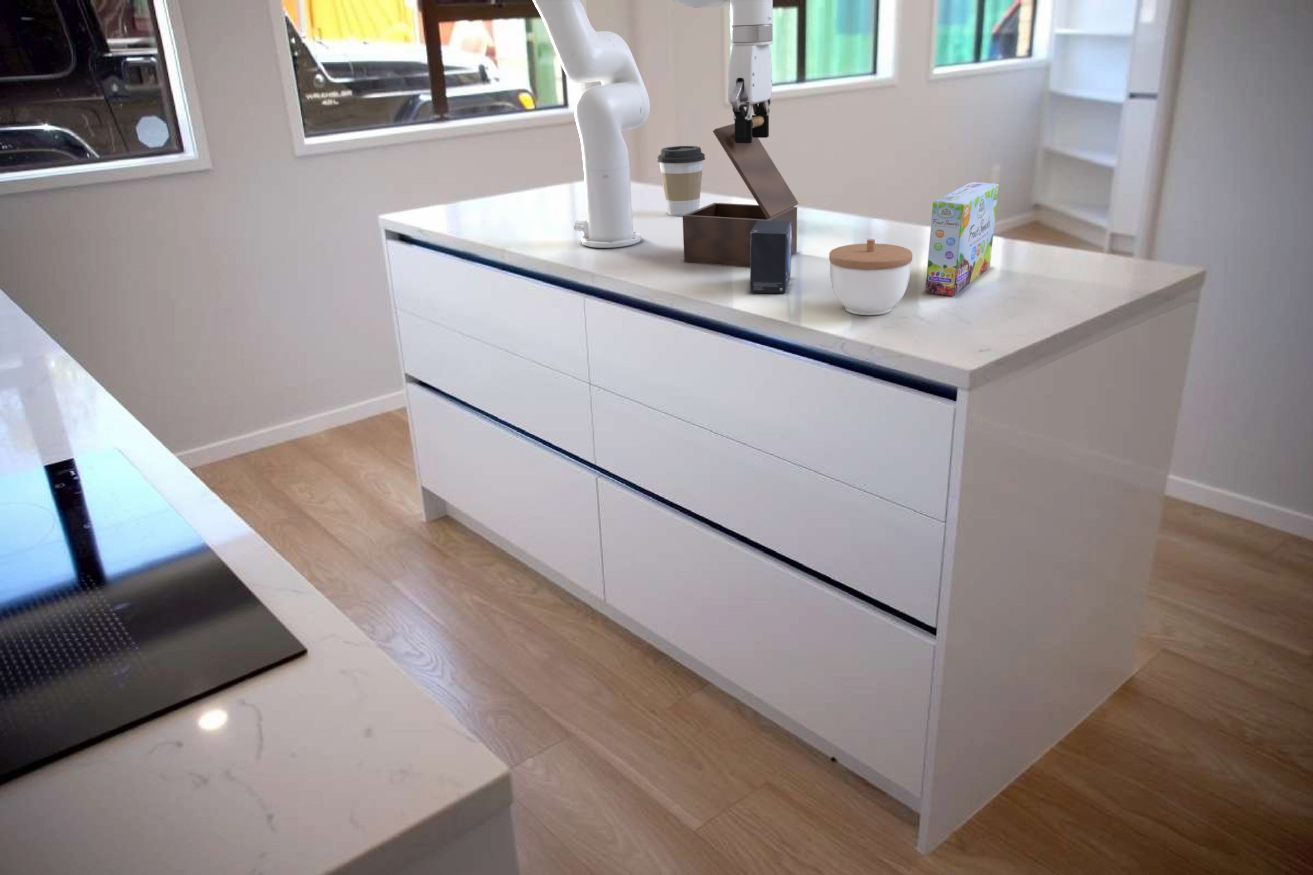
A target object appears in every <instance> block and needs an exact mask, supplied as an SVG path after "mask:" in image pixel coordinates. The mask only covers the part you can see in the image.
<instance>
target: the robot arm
mask: <svg viewBox="0 0 1313 875" xmlns="http://www.w3.org/2000/svg"><path fill="white" fill-rule="evenodd" d="M672 1H673V2H675V3H678V4H679V5H682V6H684V7H687V8H691V9H692V8H693V9H702V8H703V9H704V8H723V7H724V8H725V7H729V40H730V41H729V42H730V43H729V44H730V51H729V59H728V72H727V74H728V77H727V101H728V103H729V104H730V105H731V108H732V112H733V120H734V124H735V142H736V143H751V142H752V137H753V138H758V139H762V138H763V139H767V138H769V136H770V113H771V112H770V105H771V99H772V94H773V66H772V65H773V64H772V52H771V45H774V44H773V38H774V37H773V35H774V33H773V32H774V31H773V30H774V29H773V28H774V26H773V19H774V18H773V17H774V16H773V15H774V14H773V10H774V8H773V5H774V2H773V1H774V0H672ZM532 2H533V4H534V6H535V8H536V9H537V11H538V13H539V15H540V17H541V19H542V22H543V23H544V26H545V29H546V31H547V33H548V37H549V38H550V41H551V44H552V46H553V48H554V51H555V53H556V55H557V58H558V60H559V63H560V65H561V68H562V69H563V71H564V74H565V75H566V77H567V78H568V80H570V81H572V82H574V83H576V84H587V83H596V82H600V83H601V84H598V85H597V84H596V85H593V86H590V87H588V88H586V89H584V90H583V91H582V92H581V93H580V94H579V95H578V96H577V99H576V101H575V103H574V120H575V124H576V128H577V132H578V134H579V140H580V145H581V154H582V155H581V156H582V165H583V167H582V168H583V176H584V178H583V179H584V189H585V205H586V217H587V218H586V220H576V221H575V223H574V226H573V230H574V231H575V232H583V236H582V237H581V244H582V245H583V246H585V247H588V248H596V249H610V248H612V249H613V248H623V247H628V246H632V245H636V244H639V243H640V241H642V235H641V233H639V232H636V231H634V224H633V223H634V221H633V202H632V186H631V184H632V183H631V169H630V168H631V167H630V166H631V165H630V155H629V149H628V146H627V144H626V142H625V139H624V137H623V134H622V132H625V131H630V130H634V129H638V128H639V127H641V126H643V125H644V124H645V123H646V122H647V120H648V119H649V116H650V112H651V103H650V97H649V94H648V91H647V88H646V85H645V83H644V80H643V77H642V75H641V72H640V71H639V67H638V65H637V63H636V61H635V58H634V55H633V54H632V50H631V49H630V47H629V45H628V44H627V42H626V41H625V40H624V38H622V37H621V36H620V35H619V34H617V33H616V32H613V31H609V30H599V31H596V30H595V29H594V27H593V26H592V24H591V22H590V19H589V18H588V15H587V12H586V9H585V7H584V6H583V4H582V2H581V1H580V0H532ZM752 111H753V114H752ZM756 116H762V117H763V119H764V123H763V125H761V126H758V127H755V128H753V129H752V120H750V118H753V117H756Z"/></svg>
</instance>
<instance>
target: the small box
mask: <svg viewBox="0 0 1313 875" xmlns="http://www.w3.org/2000/svg"><path fill="white" fill-rule="evenodd" d="M791 238H792V235H791V221H766V220H758V221H757V222H756V224H755V225H754V227H753V229H752V231H751V232H750V267H749V293H750V294H751V293H754V294H755V293H756V294H757V293H758V294H759V293H760V294H785V293H786V291H787V289H788V286H789V284H790V280H791V273H792V256H791Z"/></svg>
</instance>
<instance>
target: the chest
mask: <svg viewBox="0 0 1313 875" xmlns="http://www.w3.org/2000/svg"><path fill="white" fill-rule="evenodd" d="M758 220H766V221H791V235H792V238H791V257H792V256H793V255H795V254H796V253H798V252H797V251H798V206H794V207H792V208H790V209H788V210H786V211H784V212H782V213H779V214H777V215H775V216H773V217H771V218H769V219H767V218H766V216H765V214H764V213H763V211H762V210H761V208H760V206H759V205H758V204H747V203H729V202H712V203H710V204H707V205H706V206H703V207H699V209H698V210H695V211H693V212H690V213H688V214H686V215H683V216H682V238H683V241H682V242H683V262H685V263H692V264H693V263H694V264H705V265H718V266H729V267H743V268H750V232H751V231H752V229H753V227H754V225H755V224H756V222H757V221H758Z"/></svg>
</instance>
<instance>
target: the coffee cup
mask: <svg viewBox="0 0 1313 875" xmlns="http://www.w3.org/2000/svg"><path fill="white" fill-rule="evenodd" d="M705 156H706V154H705V153H704V152H702V148H701V147H700V146H698V145H697V146H696V145H675V146H667V147H663V148H662V149H660V154H659V155H658V156H657V160H656V162H657V163H659V168H660V175H661V181H662V186H663V192H664V200H665V204H666V210H667V212H668V216H669V215H670V216H673V217H683V215H686V214H688V213H690V212H693V211H695V210H698V209H700V198H701V189H702V179H703V167H704V161H705V160H706V157H705Z"/></svg>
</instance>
